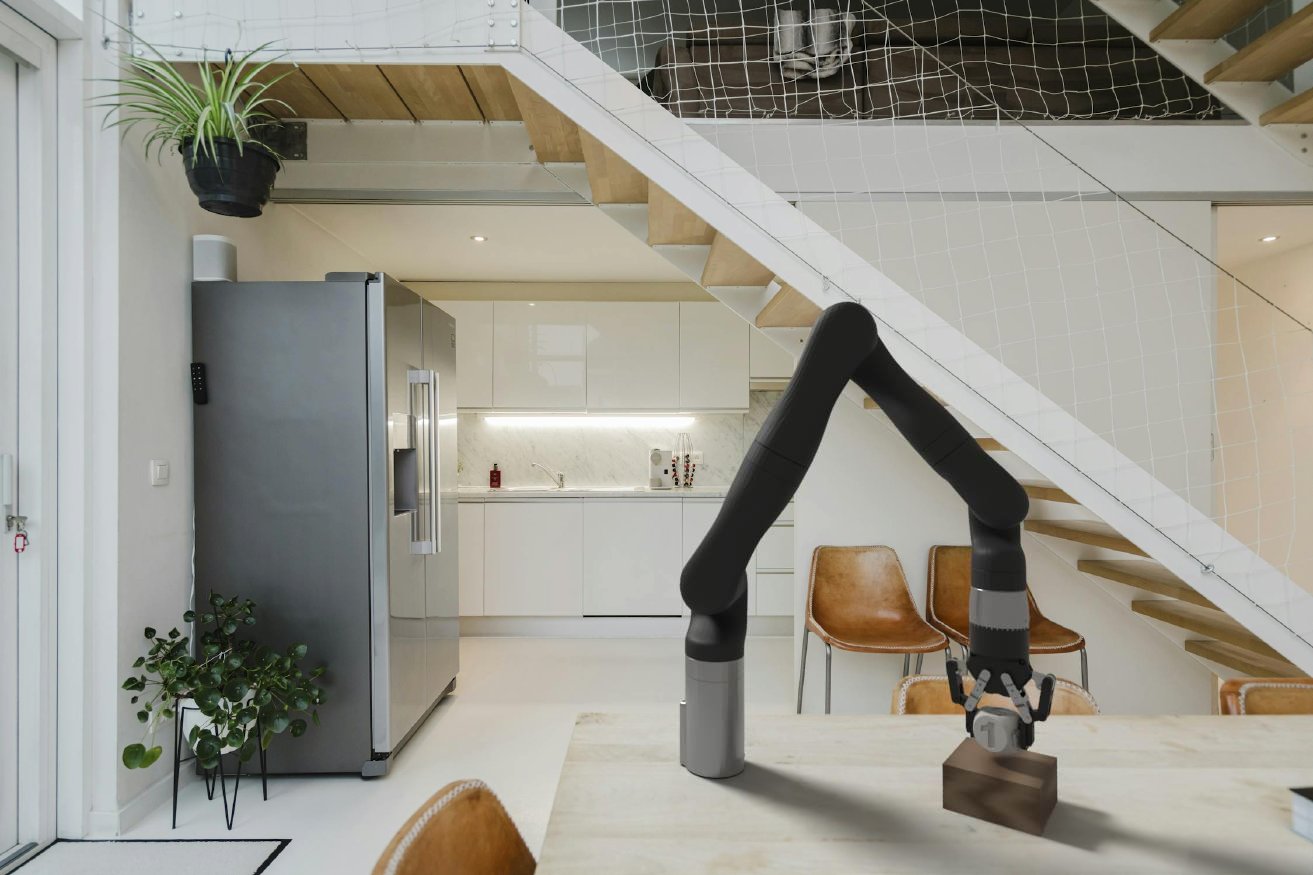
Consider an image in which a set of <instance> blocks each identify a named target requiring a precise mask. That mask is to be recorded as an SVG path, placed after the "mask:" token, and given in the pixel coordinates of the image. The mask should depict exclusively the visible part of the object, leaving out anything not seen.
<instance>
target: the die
mask: <svg viewBox="0 0 1313 875" xmlns="http://www.w3.org/2000/svg"><path fill="white" fill-rule="evenodd" d="M1021 721H1022V718H1021V716H1020V713H1019V712H1017V711H1016V710H1014V709H1013V708H1009V707H1005V706H1002V705H1001V706H1000V705H984V706H981V707H980V708H979V710H978V712H977V713H976V715H975V718H974V723H973V733H974V736H975V739H976V740H977V742H978V743H979V745H980V746H981V747H982V748H983V749H985V750H987V751H989V752H992V753H996V754H1001V755H1013V754H1017V753H1018V752H1019V751H1020V750H1021V742H1020V722H1021Z"/></svg>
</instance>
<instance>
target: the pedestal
mask: <svg viewBox="0 0 1313 875" xmlns="http://www.w3.org/2000/svg"><path fill="white" fill-rule="evenodd" d="M941 765H942V767H941V768H942V770H941V771H942V772H941V773H942V809H946V810H948V811H951V812H952V811H953V812H955V813H958V814H962V815H965V816H969V817H972V818H975V819H978V820H979V819H980V820H983V821H984V822H985V821H986V822H989V823H993V824H996V825H1000V826H1002V827H1006V828H1010V829H1013V830H1016V831H1019V832H1024V833H1027V834H1030V835H1034V836H1037V837H1041V836H1042V834H1043V832H1044V830H1045V828H1046V825H1047V824H1048V822H1049V819H1050V818H1051V815H1052V814H1053V811H1054V809H1055V807H1056V804H1057V803H1058V801H1059V800H1058V796H1059V795H1058V757H1057V756H1052V755H1048V754H1044V753H1039V752H1035V751H1031V750H1028V749H1027V750H1023V749H1021V750H1020V751H1019V752H1018V753H1017V754H1013V755H1001V754H996V753H992V752H989V751H987V750H985V749H983V748H982V747H981V746H980V745H979V743H978V742H977V740H976V739H975V738H971V737H970V736H966V737H965V738H964V740H962V741H961V743H960V744H959V745H958V746H957V747H956V748H955V749H954V750H953V751H952V753H950V754H949V756H948V757H947V758H946V759H945V760H944V761H943V762H942V764H941Z"/></svg>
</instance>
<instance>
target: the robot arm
mask: <svg viewBox="0 0 1313 875" xmlns="http://www.w3.org/2000/svg"><path fill="white" fill-rule="evenodd" d="M850 381H852V382H853V383H854V384H856V385H857V386H858V387H859V388H860V389H861V390H862V391H863V392H865V393H866V395H867V396H868V397H869V398H870V399H871V400H872V401H873V402H874V403H875V404H876V405H877V406H878V407H879V408H880V409H881V411H882V412H883V413H884V414H885V415H886V417H887V418H888V419H889V420H890V421H891V423H892V424H893V425H894V426H895V428H896V429H897V431H899V433H900V434H901V435H902V436H903V437H904V439H905V440H906V441H907V442H908V443H909V445H910V446H911V447H912V448H913V449H914V450H915V451H916V453H918V455H919V456H920V457H921V458H922V459H923V460H924V461H925V462H926V464H928V466H929V467H930V468H931V469H932V470H933V471H934V472H935V473H936V474H937V475H938V476H940V478H942V479H943V480H945V481H946V482H947V483H948V484H949V486H951V487H952V488H953V489H954V491H955V492H956V493H957V494H958V495H959V497H960V498H961V499H962V500H963V502H964V503H965V504H966V505H967V513H968V524H969V525H968V526H969V536H970V542H971V554H970V555H971V557H970V593H969V601H968V602H969V604H968V617H969V620H968V622H969V625H968V627H969V628H968V629H969V631H968V634H969V636H968V637H969V639H968V640H969V643H968V644H969V645H968V646H969V656H968V657H967V658H966V659H959V658H958V657H954V656H953V657H951V659H949V660H947V661H946V662H945V668H946V673H947V680H948V686H949V691H950V692H949V693H950V694H949V695H950V699H951V702H952V703H953V704H956V705H960V706H962V707H963V709H964V710H965V730H966V733H969V735H970V736H969V737H970V738H975V736H974V733H973V723H974V718H975V715H976V713H977V712H978V710H979V709H980V708H978V705H979V703H980V701H981V700H982V698H983V696H984V694H989V695H996V694H997V695H999V696H1002V697H1005V698H1010V699H1011V701H1012V703H1013V706H1014V707H1016V709H1017V711H1018V714H1019V715H1020V716H1021V718H1022V721H1021V722H1020V742H1021V749H1022V750H1027V751H1028V749H1029V748H1032V746H1033V745H1034V743H1035V723H1036V722H1041V723H1042V722H1046V721H1047V720H1048V717H1049V716H1050V715H1051V711H1052V705H1053V698H1054V694H1055V693H1054V692H1055V686H1056V680H1057V677H1056V676H1055V675H1054V674H1053V673H1047V674H1045V673H1043V672H1038V671H1035V670H1034V669H1033V667H1032V665H1031V662H1030V622H1031V616H1030V608H1029V599H1028V591H1027V560H1026V555H1025V552H1024V550H1023V548H1022V543H1021V540H1022V539H1021V538H1022V537H1021V533H1022V532H1021V523H1022V522H1024V520H1025V519H1026V517H1027V516H1028V513H1029V510H1030V501H1029V496H1028V494H1027V491H1026V490H1025V488H1024V487H1023V486H1022V485H1021V483H1020V482H1019V481H1018V480H1017V479H1016V478H1015V477H1014V476H1012V475H1011V474H1010V472H1008V470H1006V468H1004V467H1003V466H1002V465H1001V464H1000V463H998V462H997V461H996V460H995V459H994V458H993V457H992V456H990V455H989V454H988V453H987V452H986V451H985V450H984V448H982V447H981V445H980V444H979V442H977V440H976V439H975V438H974V436H973V435H971V434H970V432H969V431H968V430H966V428H965V426H964V425H962V424H961V422H960V421H959V420H957V419H956V417H954V415H953V414H952V413H951V412H950V411H949V410H948V409H947V408H946V407H944V405H942V404H941V403H940V402H939V401H938V400H937V399H936V398H935V397H934V396H932V395H931V394H930V393H929V392H928V391H927V390H925V388H923V387H922V386H921V385H920V384H918V383H917V381H916V380H914V379H913V378H912V377H911V376H910V375H909V374H908V373H907V372H906V370H905V369H903V368H902V366H901V365H900V364H899V362H897V361H896V359H895V357H894V356H893V355H892V354H891V352H890V351H889V349H888V347H887V346H886V345H885V343H884V342H883V340H882V339H881V337H880V336H879V333H878V326H877V323H876V320H875V318H874V316H873V315H872V314H871V312H870V311H869V310H868V309H867V308H866V307H865V306H863V305H861V304H860V303H858V302H855V301H840V302H837V303H834V304H832V305H830V306H828V307H826V308H825V309H824V310H823V311H822V312H821V313H820V314H819V315H818V316H817V318H816V319H815V321H814V323H813V325H812V328H811V330H810V332H809V336H808V339H807V341H806V343H805V347H804V348H803V350H802V353H801V356H800V357H799V360H798V363H797V365H796V368H795V370H794V372H793V374H792V376H791V378H790V380H789V381H788V383H787V385H786V386H785V388H784V389H783V391H782V393H781V394H780V396H779V397H778V399H777V401H776V402H775V404H774V405H773V407H772V409H771V411H770V412H769V413H768V414H767V417H766V419H765V420H764V422H763V424H762V425H761V427H760V429H759V430H758V432H757V434H756V435H755V437H754V439H753V441H752V442H751V444H750V447H749V448H748V450H747V452H746V454H745V456H744V458H743V460H742V462H741V464H740V466H739V467H738V468H739V469H738V471H737V472H736V474H735V477H734V479H733V480H732V483H731V485H730V487H729V489H728V492H727V493H726V496H725V498H724V501H723V504H722V505H721V508H720V510H719V512H718V514H717V516H716V518H715V520H714V522H713V523H712V525H711V526H710V527H709V530H708V531H707V533H706V534H705V536H704V537H703V539H702V541H701V542H700V543H699V545H698V546H697V548H696V549H695V551H694V552H693V553H692V555H691V557H690V558H689V559H688V561H687V562H686V564H685V565H684V566H683V568H682V571H681V574H680V577H679V591H680V592H679V593H680V595H681V598H682V601H683V602H684V604H685V605H686V607H687V608H688V609H689V610H690V618H689V619H690V620H689V625H688V629H687V632H686V634H685V639H684V666H685V667H684V670H685V671H684V677H685V678H684V679H685V680H684V700H682V701H680V703H679V764H681V765H683V766H685V768H686V769H687V770H688V771H690V773H693V774H694V775H698V776H701V777H705V778H713V779H714V778H715V779H717V778H718V779H719V778H729V777H733V776H736V775H738V774H740V773H741V772H742V771H743V770H744V769H745V756H746V754H745V740H746V739H745V736H746V734H745V733H746V732H745V724H746V723H745V718H746V717H745V714H746V713H745V643H746V637H747V632H748V610H749V608H748V602H749V601H748V600H749V582H748V574H747V567H748V565H749V563H750V561H751V558H752V557H753V554H754V552H755V551H756V549H757V546H758V545H759V543H760V542H761V540H762V538H763V537H764V536H765V534H766V533H767V532H768V531H769V529H770V528H771V526H772V525H773V524H775V522H776V521H777V520H778V518H779V517H780V516H781V514H782V513H783V511H785V509H786V507H787V506H788V504H790V501H791V500H792V499H793V497H794V495H795V494H796V493H797V491H798V490H799V488H800V486H801V483H802V482H803V480H804V478H805V476H806V474H807V473H808V471H809V469H810V467H811V465H812V464H813V462H814V459H815V457H816V455H817V453H818V450H819V447H820V446H821V443H822V441H823V437H824V434H825V432H826V428H827V426H828V423H829V421H830V418H831V414H832V412H833V410H834V406H836V403H837V400H838V399H839V398H840V396H841V394H842V393H843V390H845V387H846V386H847V385H848V383H849V382H850ZM966 669H967V671H968V672H969V674H970V675H971V676H972V678H973V679H974V681H975V684H974V685H973V688H972V690H971V692H970V693H969V696H968V695H967V694H965V688H964V681H963V674H965V673H966V672H965V671H966ZM1031 680H1033V681H1034V683H1035V687H1036V689H1037V690H1038V691H1040V693H1039V699H1038V704H1037V705H1038V706H1037V708H1035V709H1034V707H1033V706H1032V704H1031V700H1030V697H1029V694H1028V693H1027V691H1026V688H1025V686H1026V685H1027V684H1028V683H1029V682H1030V681H1031Z"/></svg>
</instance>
